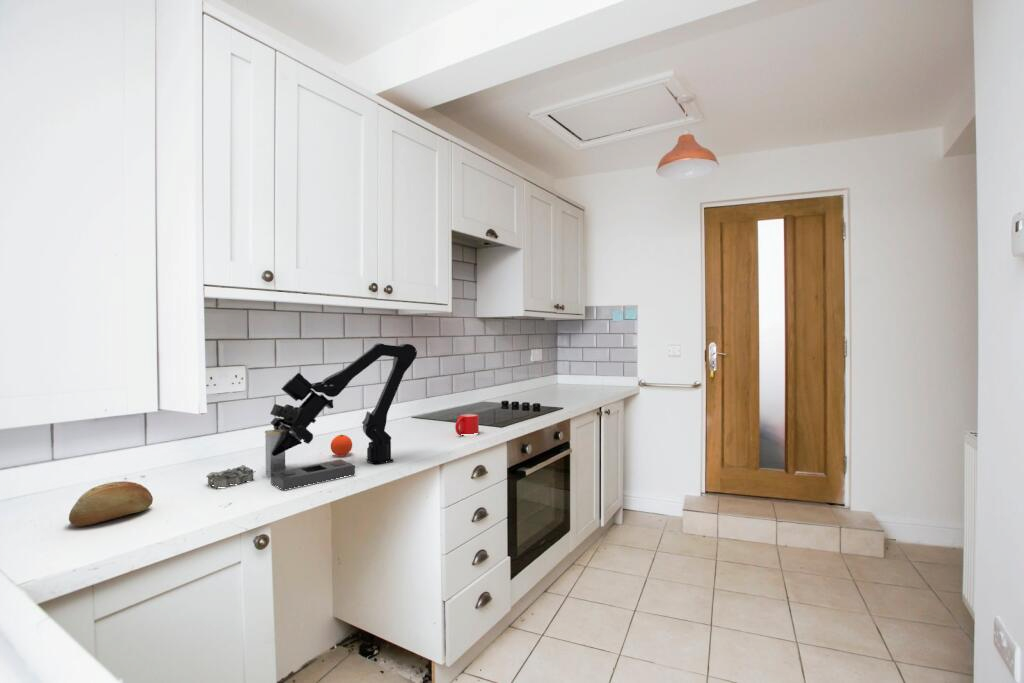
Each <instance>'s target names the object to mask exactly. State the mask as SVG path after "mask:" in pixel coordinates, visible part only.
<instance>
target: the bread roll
mask: <svg viewBox="0 0 1024 683" xmlns="http://www.w3.org/2000/svg"><path fill="white" fill-rule="evenodd" d="M153 501H154V500H153V495H152V493H151V491H150V490H148V488H147V487H145V486H144V485H142V484H139V483H138V482H133V481H126V480H125V481H124V480H123V481H114V482H113V481H111V482H108V483H103V484H100V485H98V486H95V487H92V488H90V489H88V490H87V491H85V492H84V493H83V494H82V495H81V496H80V497H79V498H78V499H77V501H76V502H75V504H73V506H72V508H71V510H70V512H69V515H68V522H69V524H70V525H72V526H74V527H79V528H80V527H86V526H90V525H91V526H92V525H94V524H95V525H96V524H98V523H101V522H105V521H110V520H113V519H116V518H121V517H124V516H127V515H131V514H135V513H139V512H140V513H141V512H143V511H146V510H147V509H149V507H151V506H152V505H153Z"/></svg>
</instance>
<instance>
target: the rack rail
mask: <svg viewBox="0 0 1024 683" xmlns="http://www.w3.org/2000/svg"><path fill="white" fill-rule="evenodd" d="M354 474H355V475H356V464H353V463H351V462H348V461H345V460H343V459H336V460H330V461H326V462H320V463H314V464H310V465H304V466H299V467H294V468H288V469H285V470H282V471H276V472H271V479H270V484H271V483H273V484H274V485H276V486H278V487H279V488H281V489H283V490H285V489H289V488H294V487H298V486H304V485H308V484H313V483H317V482H322V481H326V480H331V479H336V478H340V477H344V476H349V475H354ZM336 480H337V479H336ZM331 481H332V480H331ZM322 483H323V482H322ZM273 484H272V485H273ZM274 485H273V486H274ZM313 485H314V484H313ZM276 486H275V487H276ZM308 486H309V485H308ZM278 487H277V488H278ZM304 487H305V486H304ZM279 488H278V489H279ZM281 489H280V490H281ZM294 489H295V488H294ZM283 490H282V491H283ZM285 491H286V490H285Z"/></svg>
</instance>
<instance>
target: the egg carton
mask: <svg viewBox="0 0 1024 683" xmlns="http://www.w3.org/2000/svg"><path fill="white" fill-rule="evenodd" d="M255 473H256V471H255V470H253V468H250V467H249V466H247V465H244V464H242V465H241V466H238V467H234V468H233V467H232V469H230V468H228V469H226V470H221V471H216V472H215V471H211V472H209V473H208V474H207V475H206V476H205V477H206V478H207V486H208V485H209V486H211V485H214V486H213V488H214V487H215V488H218V487H227V488H228V486H227V485H230V484H238V485H240V483H239V482H242V483H244V482H243V481H251V480H252V479H254V475H255ZM252 481H253V480H252ZM252 481H251V482H252ZM209 486H208V487H209ZM230 486H231V485H230ZM211 487H212V486H211ZM215 488H214V489H215Z"/></svg>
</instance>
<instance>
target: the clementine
mask: <svg viewBox="0 0 1024 683" xmlns="http://www.w3.org/2000/svg"><path fill="white" fill-rule="evenodd" d="M330 442H331V443H330V450H331V452H332V453H333V454H334V455H335V456H339V457H343V456H346V455H348V454H349V453H350V452H351V451H352V449H353V441H352V439H351V438H350V436H347V435H345V434H338V435H337V436H335V437H334V438H333V439H332V440H331V441H330Z"/></svg>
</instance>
